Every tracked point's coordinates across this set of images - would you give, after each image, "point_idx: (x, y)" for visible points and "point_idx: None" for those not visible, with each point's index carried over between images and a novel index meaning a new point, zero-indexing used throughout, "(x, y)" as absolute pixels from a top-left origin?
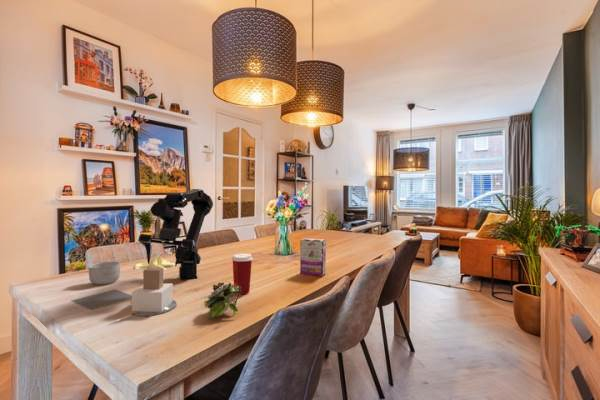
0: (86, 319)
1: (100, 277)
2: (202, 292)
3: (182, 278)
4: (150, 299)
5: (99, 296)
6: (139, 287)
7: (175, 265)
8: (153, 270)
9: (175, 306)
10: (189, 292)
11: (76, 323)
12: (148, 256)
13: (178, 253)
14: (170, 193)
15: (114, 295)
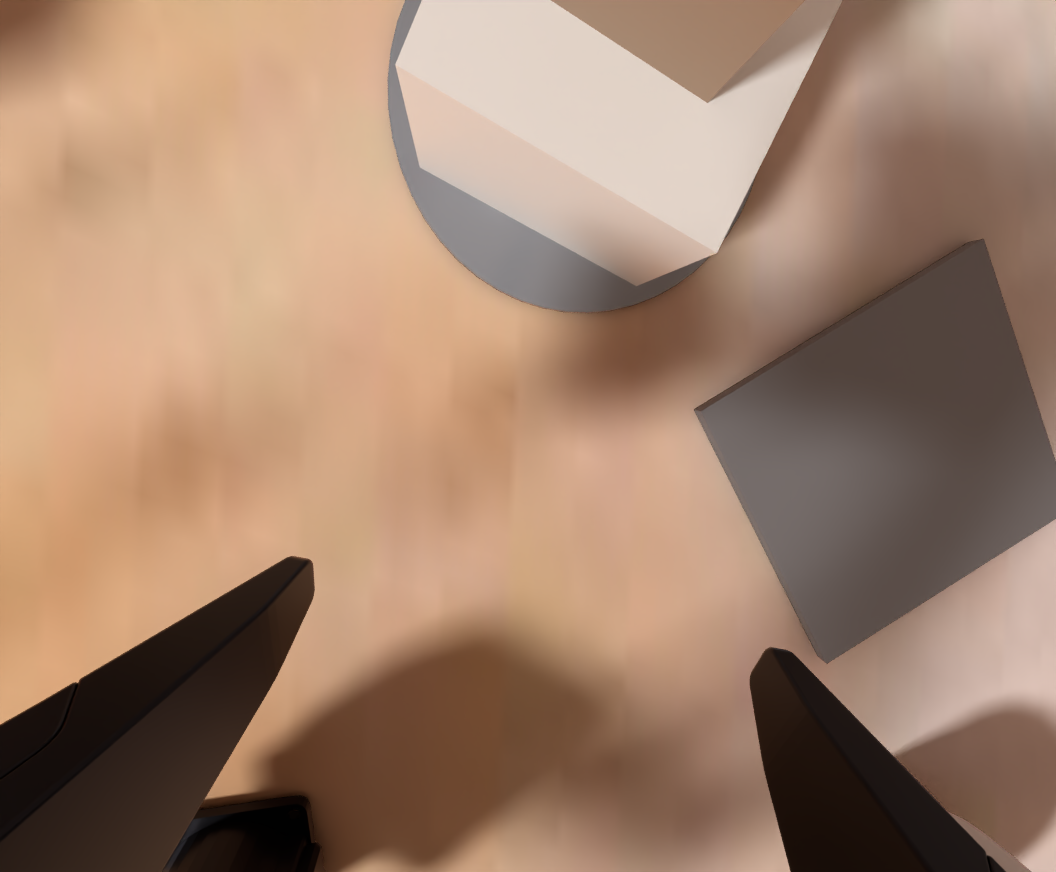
0: (998, 95)
1: None
2: (117, 346)
3: (298, 817)
4: None
5: (923, 530)
6: (795, 90)
7: (296, 561)
8: None
9: (402, 14)
10: (253, 400)
11: (1049, 45)
12: (885, 776)
13: (27, 807)
14: None
15: (838, 514)
